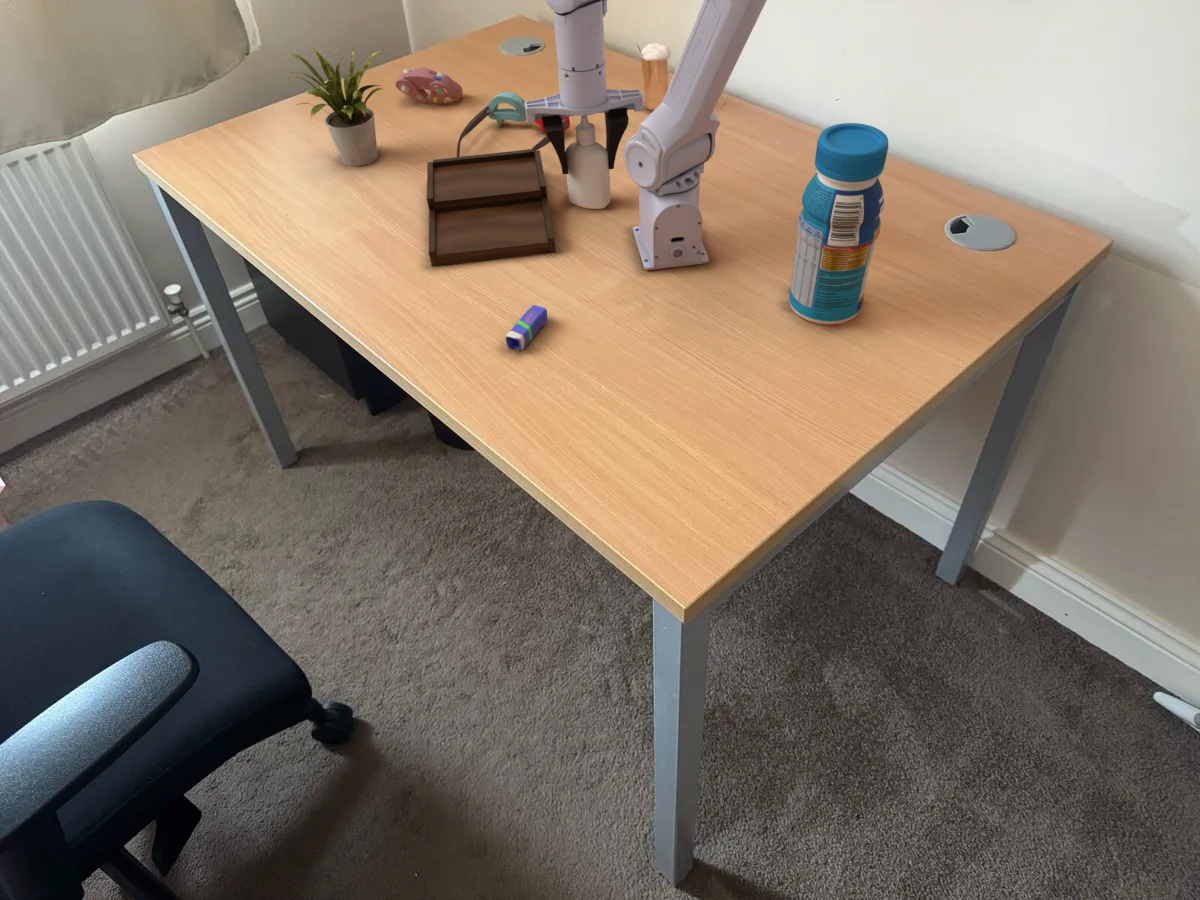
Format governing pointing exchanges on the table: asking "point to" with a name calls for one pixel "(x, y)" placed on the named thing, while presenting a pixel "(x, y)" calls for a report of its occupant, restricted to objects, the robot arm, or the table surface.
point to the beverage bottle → (838, 224)
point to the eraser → (526, 328)
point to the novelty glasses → (507, 116)
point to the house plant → (346, 111)
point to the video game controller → (428, 85)
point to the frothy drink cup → (655, 73)
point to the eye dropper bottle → (587, 169)
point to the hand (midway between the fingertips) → (587, 168)
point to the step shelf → (488, 207)
